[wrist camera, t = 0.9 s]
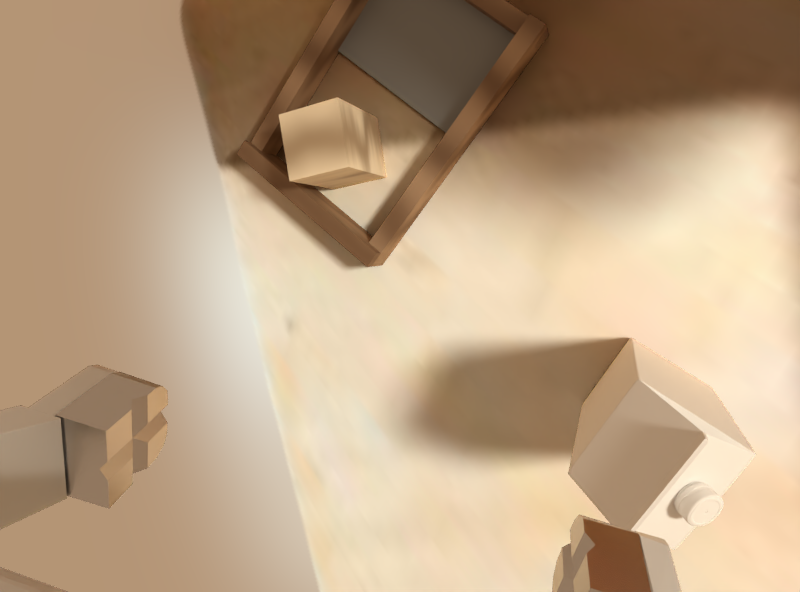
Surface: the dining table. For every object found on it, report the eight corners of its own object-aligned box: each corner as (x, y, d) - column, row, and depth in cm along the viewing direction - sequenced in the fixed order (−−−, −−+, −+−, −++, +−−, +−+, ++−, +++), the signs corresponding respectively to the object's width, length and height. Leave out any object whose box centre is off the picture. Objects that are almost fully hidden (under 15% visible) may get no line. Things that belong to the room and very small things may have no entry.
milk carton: (581, 405, 48) (561, 501, 30) (630, 336, 46) (640, 396, 28) (658, 456, 46) (685, 591, 28) (713, 387, 44) (778, 485, 26)
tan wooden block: (325, 131, 54) (278, 114, 47) (377, 117, 52) (337, 97, 45) (334, 189, 54) (289, 181, 47) (386, 177, 52) (348, 166, 45)
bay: (395, -70, 50) (379, -91, 46) (549, 34, 46) (544, 19, 43) (258, 158, 57) (236, 154, 54) (382, 265, 53) (367, 266, 50)
